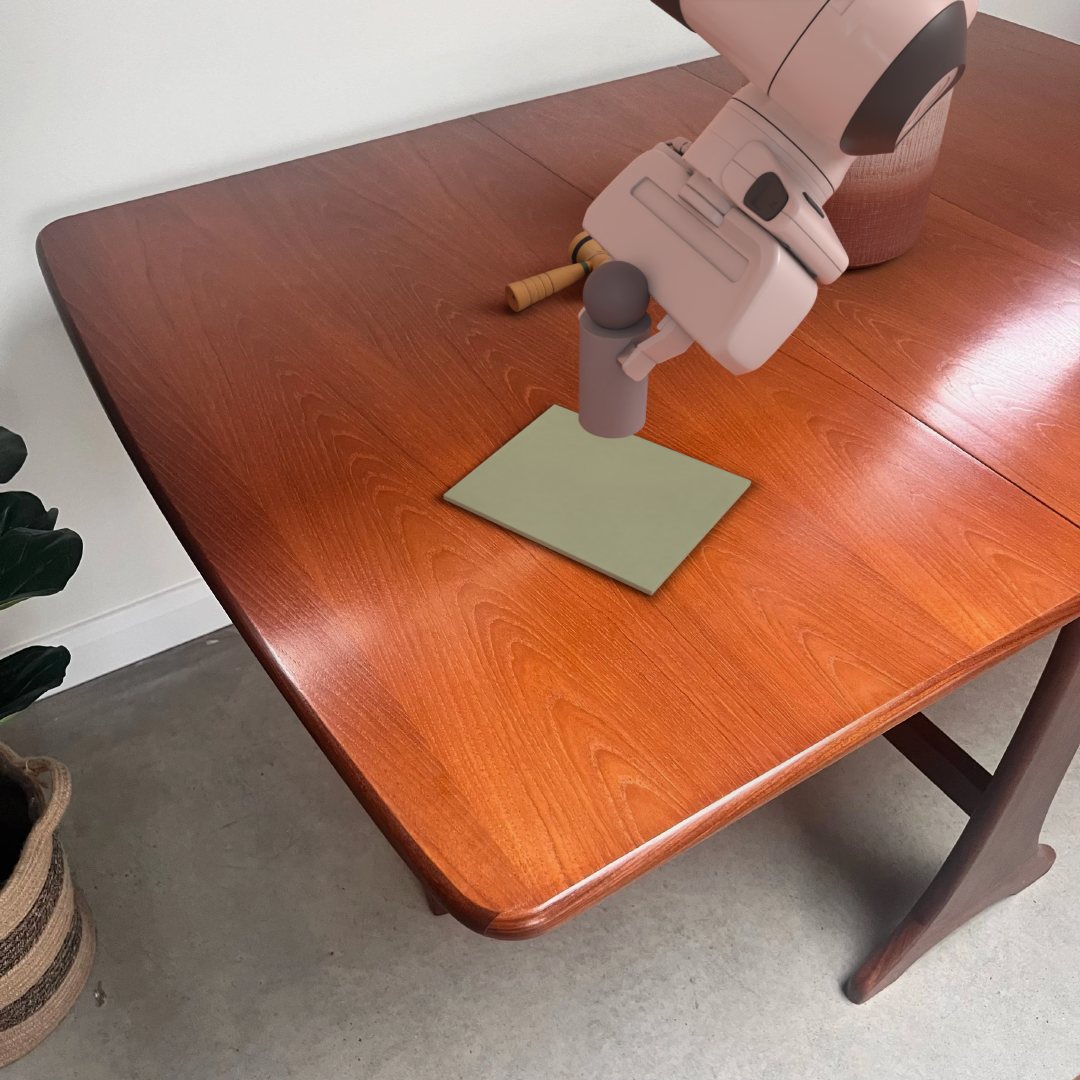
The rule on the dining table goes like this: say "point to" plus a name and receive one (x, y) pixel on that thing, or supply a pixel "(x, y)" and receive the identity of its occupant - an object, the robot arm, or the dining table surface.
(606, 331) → the ball
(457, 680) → the dining table surface
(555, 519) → the mat
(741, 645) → the dining table surface
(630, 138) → the dining table surface
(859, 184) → the planter
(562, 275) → the kendama
